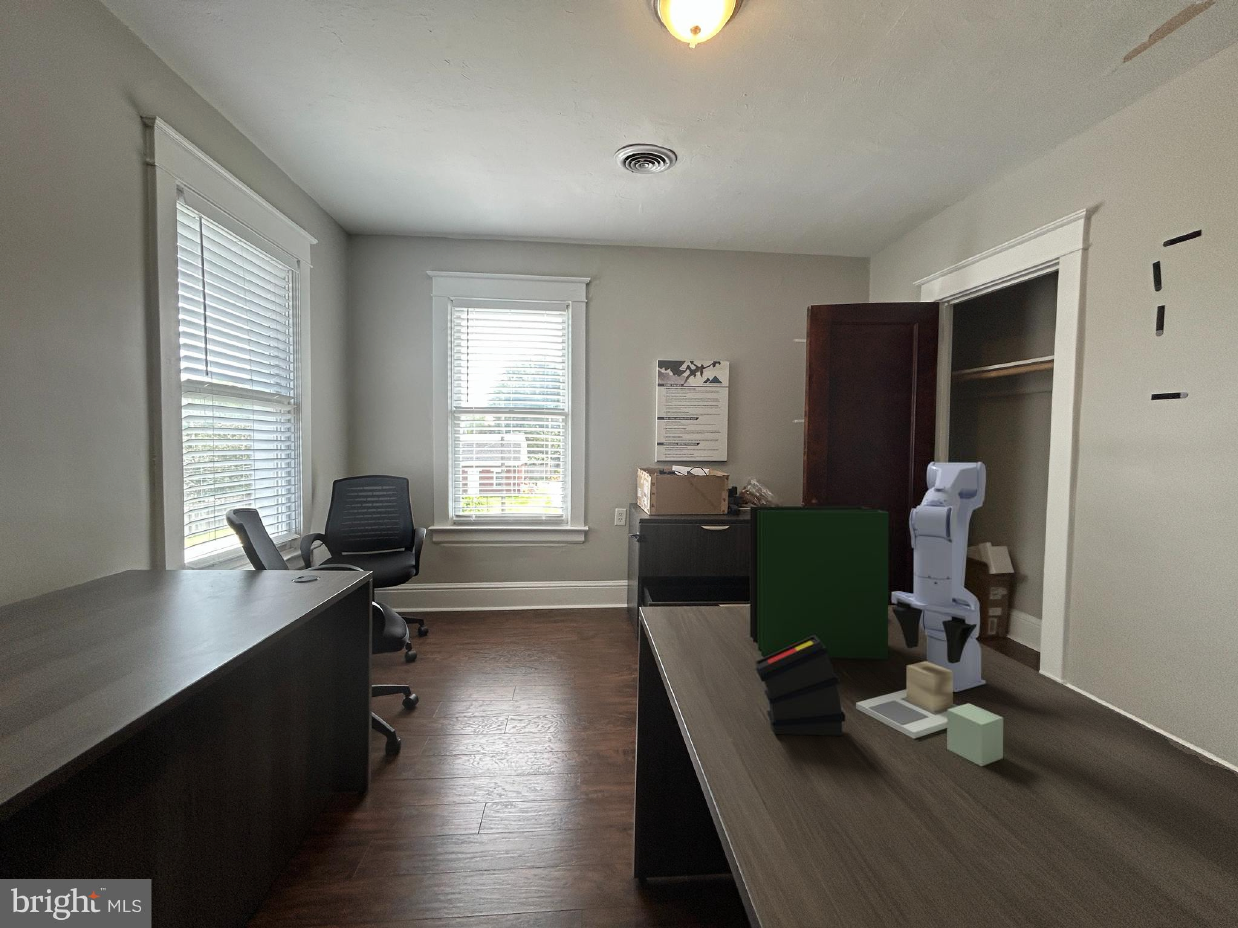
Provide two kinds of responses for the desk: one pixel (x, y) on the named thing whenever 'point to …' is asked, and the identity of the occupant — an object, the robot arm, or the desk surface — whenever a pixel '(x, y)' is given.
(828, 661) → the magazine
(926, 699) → the wooden toy cube
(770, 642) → the binder
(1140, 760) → the desk surface
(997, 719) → the sage post
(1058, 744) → the desk surface
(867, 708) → the board
